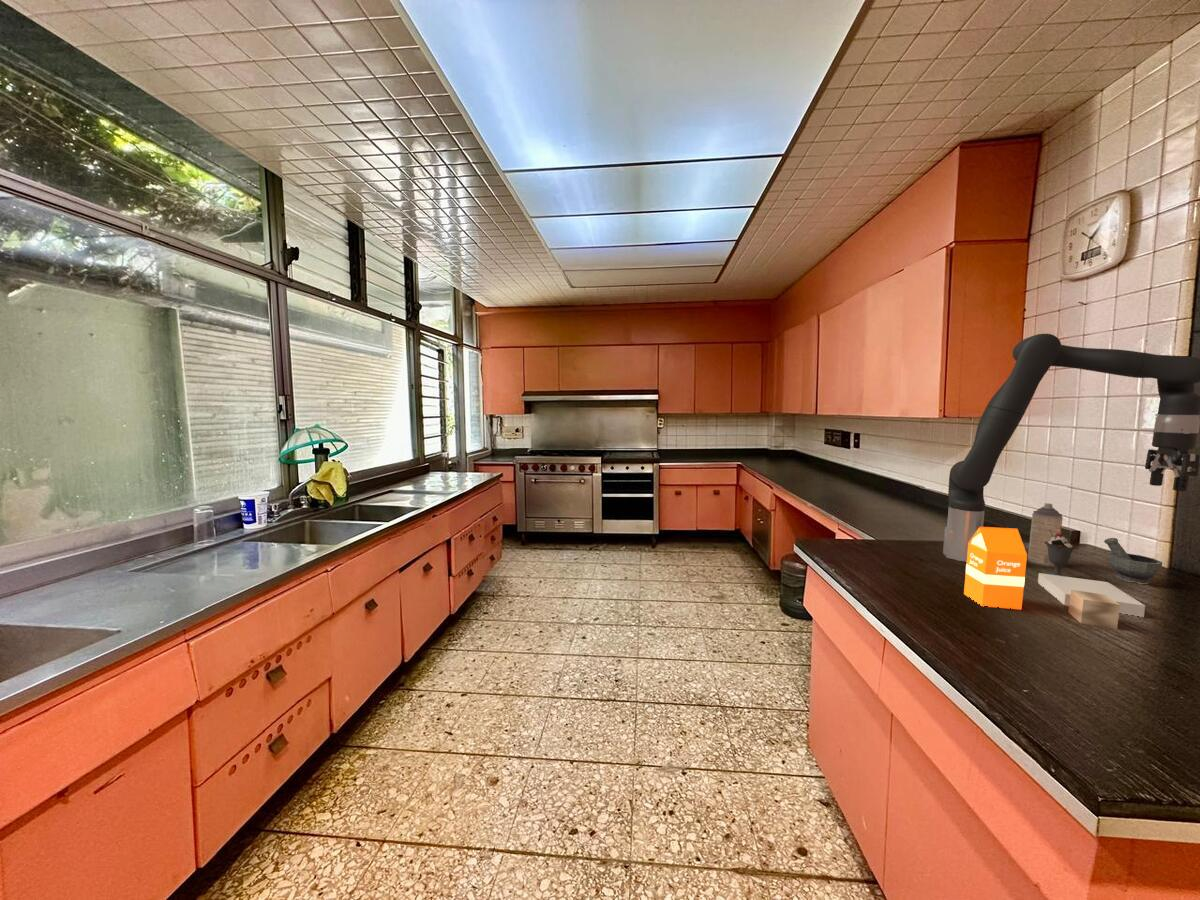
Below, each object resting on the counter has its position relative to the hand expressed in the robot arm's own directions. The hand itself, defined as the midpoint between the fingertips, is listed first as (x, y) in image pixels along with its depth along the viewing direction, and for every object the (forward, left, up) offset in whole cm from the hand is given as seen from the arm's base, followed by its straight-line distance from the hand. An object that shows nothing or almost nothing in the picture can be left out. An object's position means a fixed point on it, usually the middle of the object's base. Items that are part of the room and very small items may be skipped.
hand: (1167, 488), depth 122 cm
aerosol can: (-21, +7, -29) cm, 37 cm away
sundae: (-22, -6, -29) cm, 37 cm away
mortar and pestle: (-4, +1, -29) cm, 29 cm away
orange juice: (-45, -37, -29) cm, 65 cm away
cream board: (-22, -23, -28) cm, 43 cm away
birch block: (-27, -39, -29) cm, 55 cm away
